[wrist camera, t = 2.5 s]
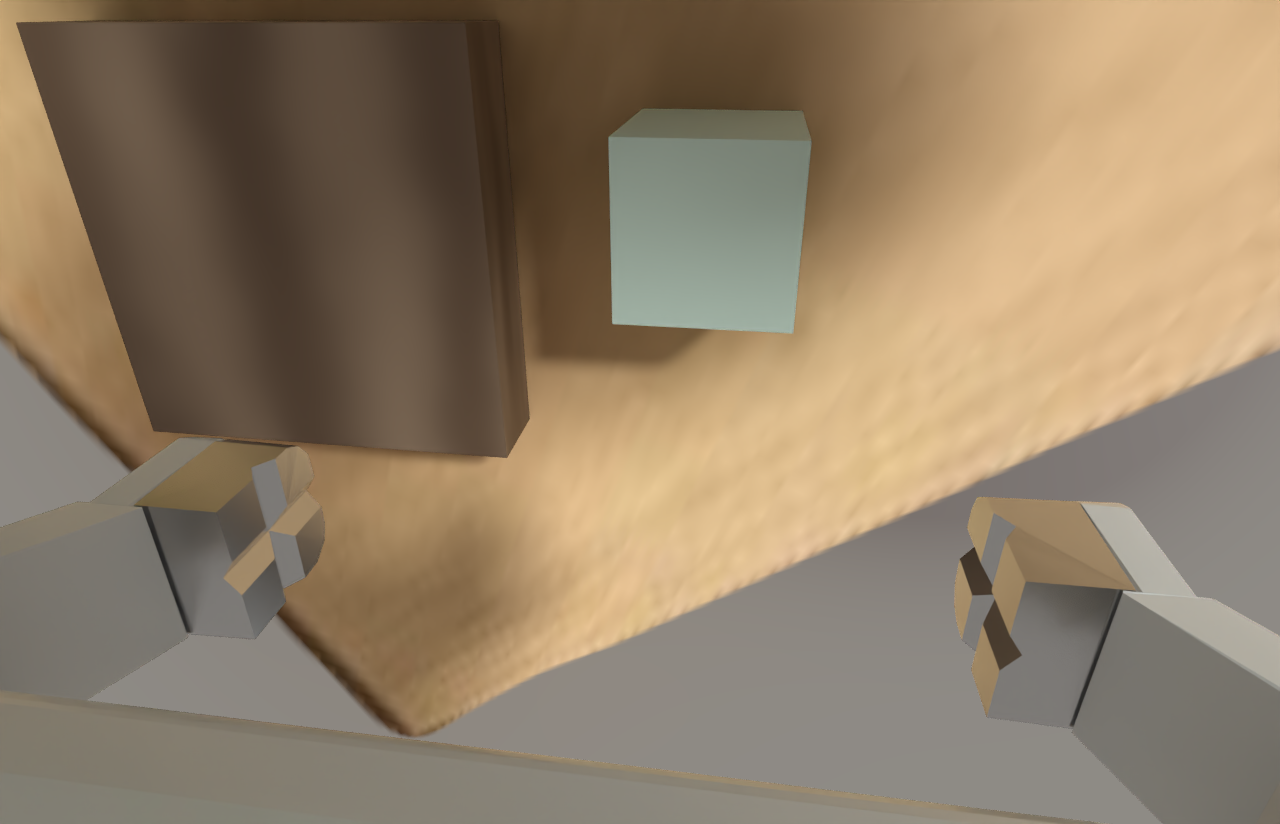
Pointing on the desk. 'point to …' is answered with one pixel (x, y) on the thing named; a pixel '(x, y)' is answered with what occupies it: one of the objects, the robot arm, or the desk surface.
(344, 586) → the desk surface
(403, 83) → the walnut base
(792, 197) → the sage block
